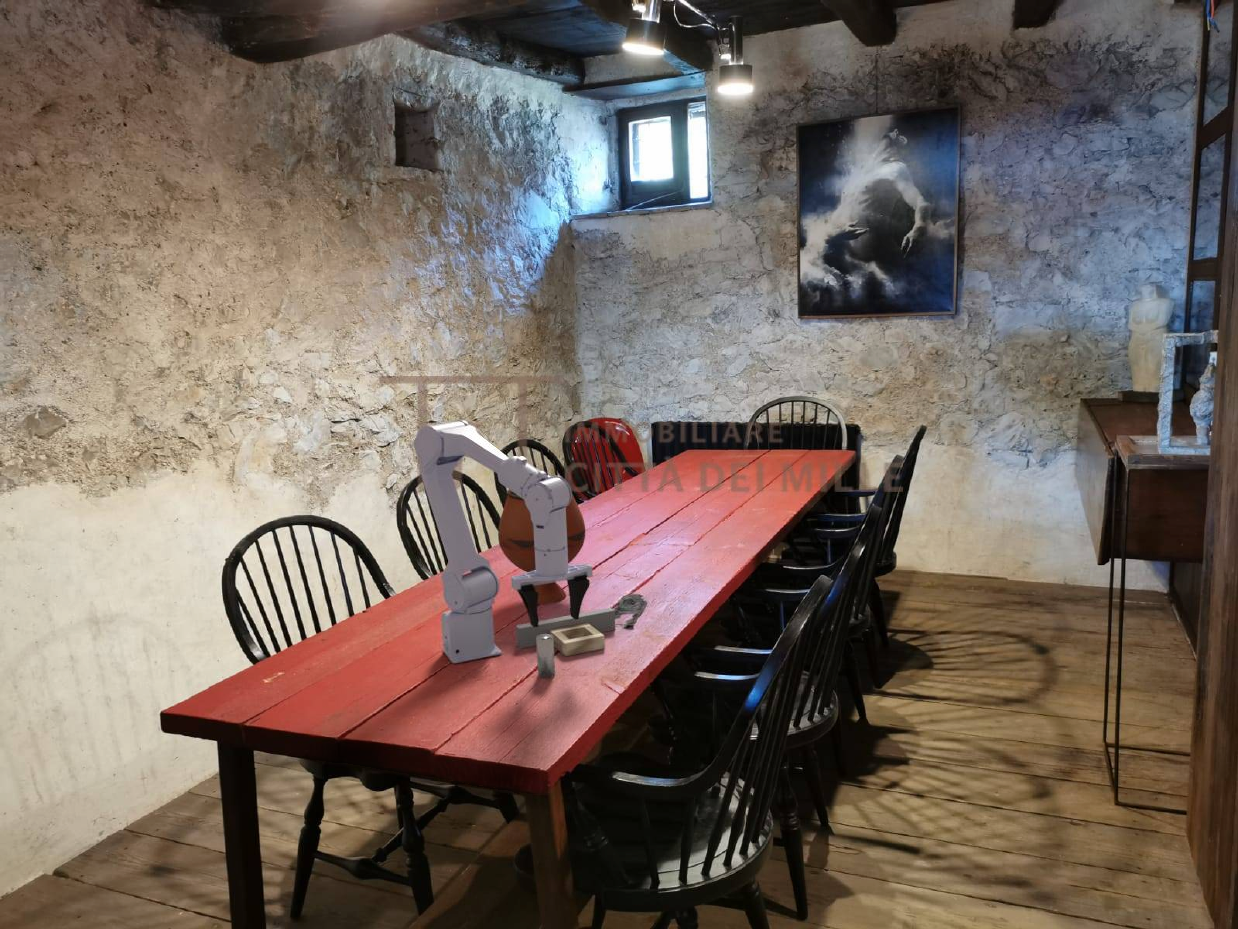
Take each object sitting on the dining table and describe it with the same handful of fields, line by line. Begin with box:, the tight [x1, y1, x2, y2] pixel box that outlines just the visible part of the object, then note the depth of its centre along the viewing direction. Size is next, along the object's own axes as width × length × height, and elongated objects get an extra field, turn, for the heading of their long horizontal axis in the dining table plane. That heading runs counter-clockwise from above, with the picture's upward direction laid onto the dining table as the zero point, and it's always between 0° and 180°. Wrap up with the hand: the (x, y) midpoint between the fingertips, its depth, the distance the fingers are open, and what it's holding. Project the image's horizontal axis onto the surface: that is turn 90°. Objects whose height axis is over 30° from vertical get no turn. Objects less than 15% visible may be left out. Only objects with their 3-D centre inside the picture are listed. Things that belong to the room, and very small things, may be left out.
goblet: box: [497, 486, 586, 605], centre depth 203 cm, size 19×19×25 cm
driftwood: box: [613, 593, 648, 629], centre depth 194 cm, size 21×7×2 cm, turn 166°
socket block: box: [550, 623, 606, 657], centre depth 175 cm, size 8×8×2 cm
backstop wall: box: [515, 607, 616, 649], centre depth 180 cm, size 20×2×4 cm, turn 115°
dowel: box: [536, 634, 556, 679], centre depth 162 cm, size 3×3×7 cm
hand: (554, 621), depth 162 cm, fingers open, 7 cm apart
